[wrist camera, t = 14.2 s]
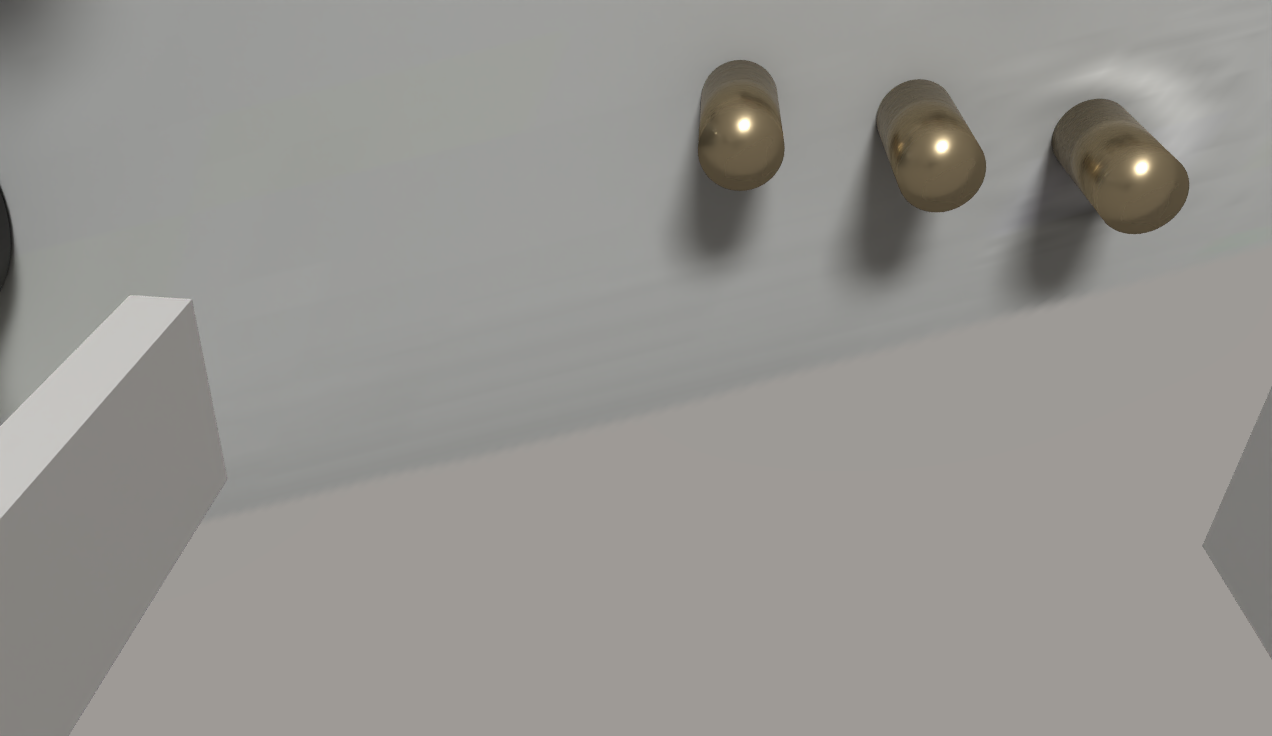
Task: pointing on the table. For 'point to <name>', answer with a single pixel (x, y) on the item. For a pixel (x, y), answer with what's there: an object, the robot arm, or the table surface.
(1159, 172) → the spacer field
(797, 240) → the table surface
